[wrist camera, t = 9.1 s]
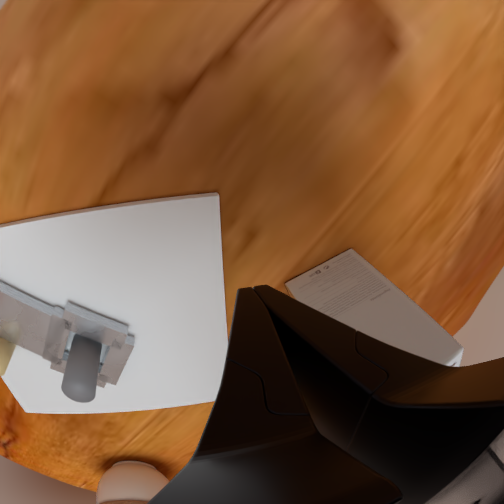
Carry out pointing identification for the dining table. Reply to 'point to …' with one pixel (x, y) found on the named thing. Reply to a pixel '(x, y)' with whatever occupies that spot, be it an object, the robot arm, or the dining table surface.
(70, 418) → the dining table surface
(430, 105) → the dining table surface
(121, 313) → the jig
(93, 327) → the arm
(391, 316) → the small box
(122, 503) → the lidded jar
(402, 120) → the dining table surface
